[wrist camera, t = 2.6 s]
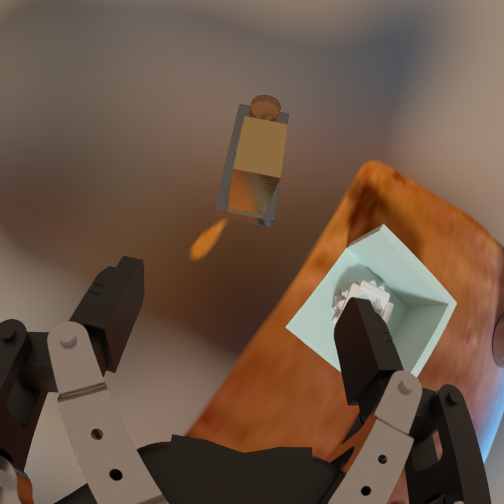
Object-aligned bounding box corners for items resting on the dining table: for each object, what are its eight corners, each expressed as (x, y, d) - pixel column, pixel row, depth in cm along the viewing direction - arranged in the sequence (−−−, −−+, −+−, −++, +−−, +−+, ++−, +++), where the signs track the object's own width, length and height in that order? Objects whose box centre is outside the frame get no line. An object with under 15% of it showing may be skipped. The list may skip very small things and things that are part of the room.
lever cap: (262, 216, 30) (281, 178, 21) (227, 210, 29) (233, 168, 21) (269, 173, 31) (287, 124, 22) (236, 166, 31) (244, 115, 22)
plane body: (270, 226, 32) (280, 211, 27) (215, 216, 31) (215, 198, 26) (285, 123, 35) (294, 98, 30) (238, 113, 34) (241, 88, 29)
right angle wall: (350, 242, 33) (383, 223, 25) (416, 306, 32) (457, 302, 25) (285, 327, 30) (307, 331, 23) (362, 389, 29) (398, 405, 22)
